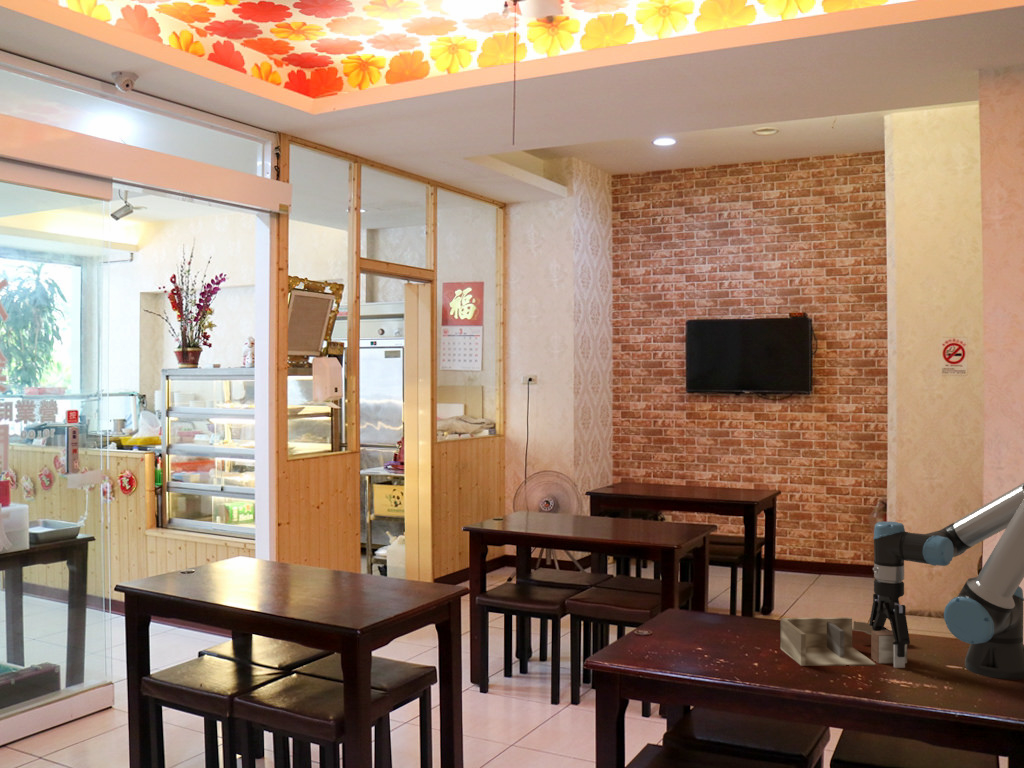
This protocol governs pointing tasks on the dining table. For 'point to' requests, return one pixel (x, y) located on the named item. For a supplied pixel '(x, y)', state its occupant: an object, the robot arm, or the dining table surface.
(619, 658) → the dining table surface
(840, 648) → the shelf
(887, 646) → the tall mauve wooden block
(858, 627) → the toy figure
